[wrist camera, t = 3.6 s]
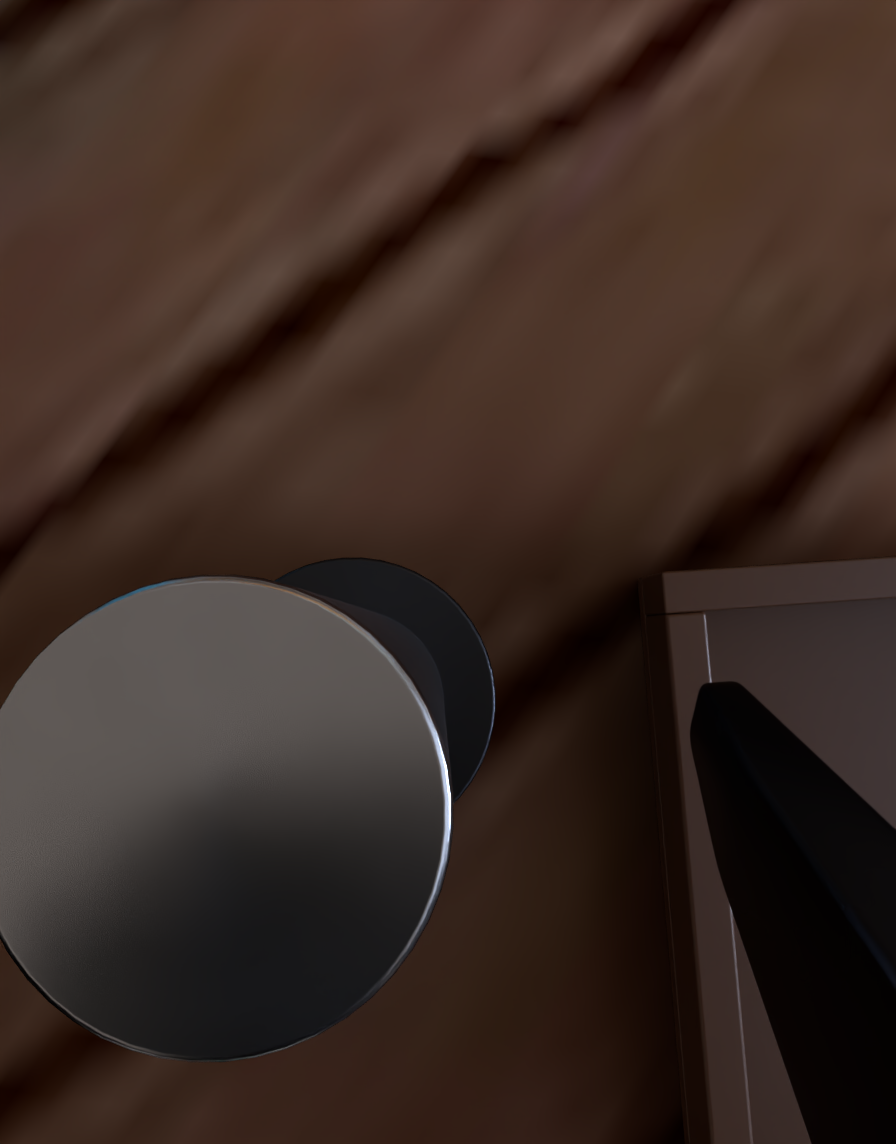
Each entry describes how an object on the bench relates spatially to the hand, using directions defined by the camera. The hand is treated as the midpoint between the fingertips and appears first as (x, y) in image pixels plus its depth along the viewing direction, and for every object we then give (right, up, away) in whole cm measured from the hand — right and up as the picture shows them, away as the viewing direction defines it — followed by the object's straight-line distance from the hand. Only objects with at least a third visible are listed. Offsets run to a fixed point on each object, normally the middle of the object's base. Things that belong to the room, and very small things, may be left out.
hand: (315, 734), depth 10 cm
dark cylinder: (0, 0, +8) cm, 8 cm away
